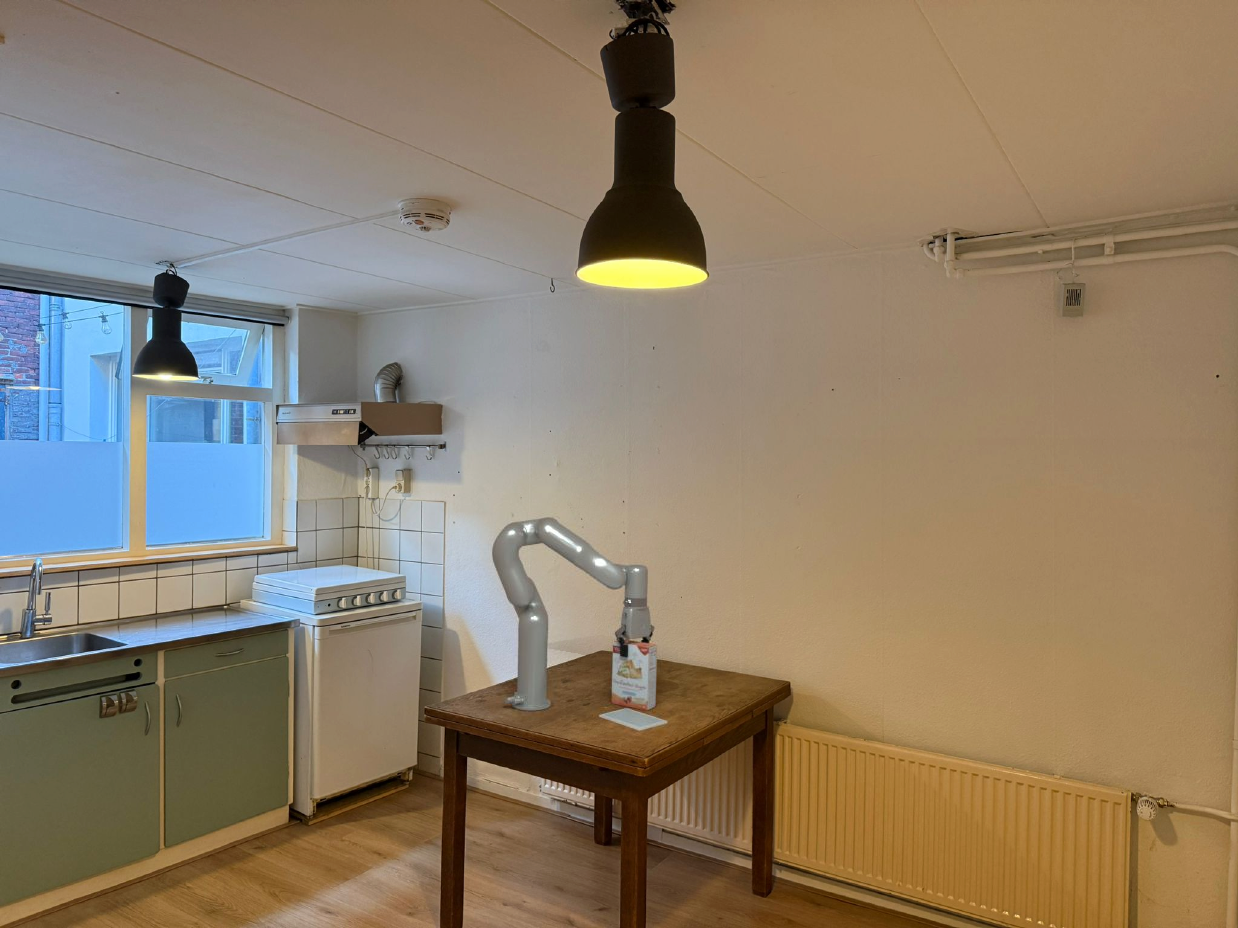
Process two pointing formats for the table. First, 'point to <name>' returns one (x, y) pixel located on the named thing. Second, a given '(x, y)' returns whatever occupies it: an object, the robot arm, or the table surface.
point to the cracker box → (635, 675)
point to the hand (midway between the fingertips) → (634, 654)
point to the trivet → (633, 719)
